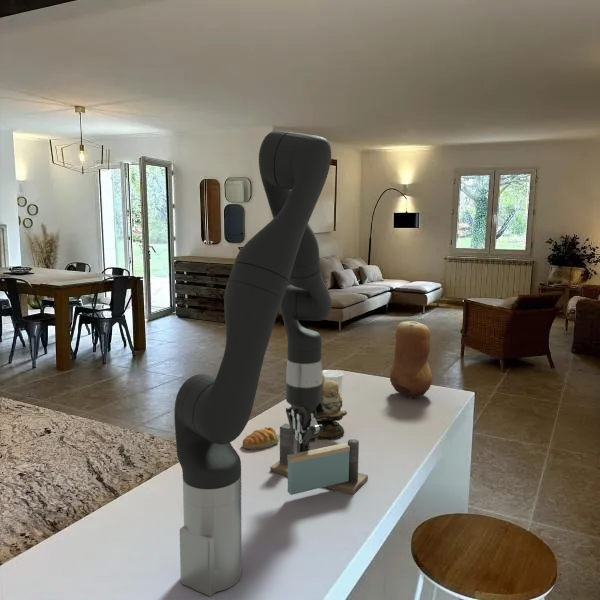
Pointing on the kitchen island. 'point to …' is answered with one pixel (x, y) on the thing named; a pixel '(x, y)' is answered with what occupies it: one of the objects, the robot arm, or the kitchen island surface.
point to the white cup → (334, 378)
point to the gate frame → (349, 486)
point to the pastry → (261, 438)
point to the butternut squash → (411, 360)
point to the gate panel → (318, 468)
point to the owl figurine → (330, 411)
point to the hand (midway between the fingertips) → (302, 457)
